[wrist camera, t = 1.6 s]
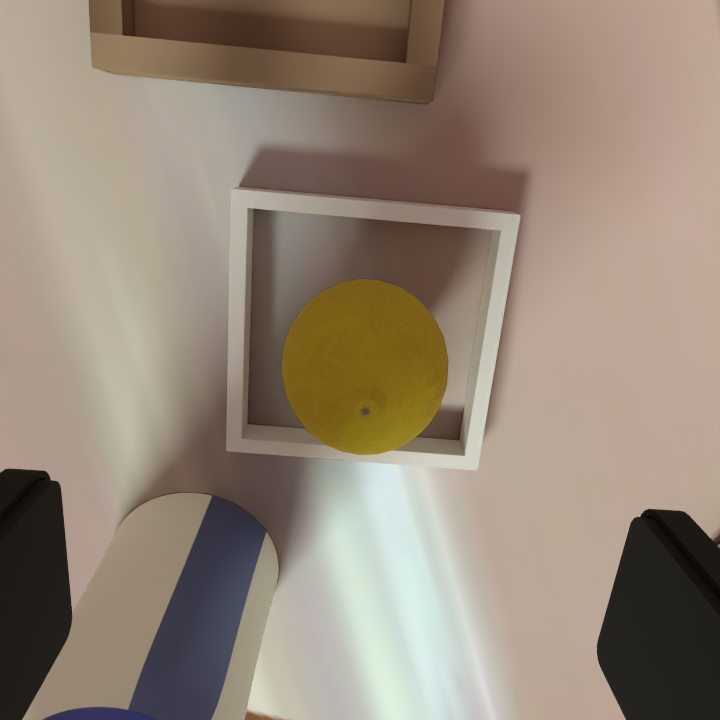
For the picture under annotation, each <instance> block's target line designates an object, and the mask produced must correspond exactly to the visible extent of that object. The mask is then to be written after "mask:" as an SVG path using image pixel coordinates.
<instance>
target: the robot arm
mask: <svg viewBox="0 0 720 720" xmlns="http://www.w3.org/2000/svg"><path fill="white" fill-rule="evenodd" d="M71 625H72V607H71V595H70V584H69V573H68V562H67V551H66V539H65V528H64V517H63V506H62V495H61V487H60V484H59V482H57V481H51V480H50V477H49V475H48V473H47V472H45V471H38V470H23V469H5V470H4V471H2V472H1V473H0V720H22V719H23V718H24V716H25V714H26V712H27V711H28V709H29V707H30V705H31V703H32V702H33V700H34V698H35V696H36V694H37V693H38V691H39V689H40V687H41V685H42V684H43V682H44V680H45V678H46V677H47V675H48V673H49V671H50V669H51V668H52V666H53V664H54V662H55V660H56V659H57V657H58V655H59V653H60V652H61V650H62V648H63V646H64V644H65V643H66V641H67V638H68V636H69V633H70V629H71ZM597 656H598V661H599V664H600V667H601V669H602V671H603V673H604V675H605V678H606V680H607V682H608V684H609V686H610V688H611V690H612V692H613V694H614V696H615V698H616V700H617V702H618V704H619V706H620V708H621V710H622V712H623V714H624V716H625V718H626V720H720V544H718V545H716V544H715V543H714V542H713V541H712V540H711V539H710V538H709V537H708V535H707V534H706V533H705V532H704V531H703V530H702V529H701V528H700V527H699V526H698V525H697V524H696V523H695V521H694V520H693V519H692V518H691V517H690V516H689V515H688V514H686V513H685V512H682V511H673V510H657V509H648V510H645V511H644V512H643V513H642V514H641V517H636V518H634V519H633V520H632V522H631V525H630V528H629V531H628V535H627V538H626V542H625V546H624V549H623V553H622V556H621V560H620V564H619V567H618V571H617V574H616V578H615V581H614V585H613V589H612V592H611V596H610V599H609V603H608V607H607V610H606V614H605V617H604V621H603V624H602V628H601V632H600V635H599V639H598V643H597Z"/></svg>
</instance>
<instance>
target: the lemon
mask: <svg viewBox="0 0 720 720" xmlns="http://www.w3.org/2000/svg"><path fill="white" fill-rule="evenodd" d="M282 375H283V382H284V388H285V393H286V396H287V398H288V400H289V403H290V405H291V407H292V409H293V411H294V414H295V415H296V417H297V418H298V419H299V421H300V422H301V423H302V424H303V426H304V427H305V428H306V429H307V431H308V432H309V433H311V434H312V435H313V436H315V437H316V438H317V439H318V440H320V441H321V442H322V443H324V444H325V445H327V446H330V447H332V448H334V449H337V450H339V451H341V452H346V453H351V454H357V455H374V454H381V453H385V452H388V451H392V450H395V449H397V448H399V447H401V446H403V445H405V444H407V443H408V442H410V441H412V440H413V439H414V438H415V437H416V436H417V435H418V434H420V433H421V432H422V431H423V430H424V429H425V428H426V427H427V426H428V425H429V423H430V422H431V420H432V419H433V417H434V416H435V414H436V413H437V411H438V409H439V407H440V404H441V401H442V398H443V396H444V393H445V390H446V386H447V376H448V355H447V350H446V345H445V340H444V336H443V334H442V332H441V330H440V328H439V326H438V324H437V322H436V320H435V318H434V316H433V315H432V314H431V312H430V311H429V310H428V309H427V308H426V307H425V306H424V305H423V303H422V302H421V301H420V300H419V299H418V298H417V297H415V296H414V295H412V294H410V293H409V292H407V291H406V290H404V289H403V288H401V287H399V286H396V285H393V284H390V283H387V282H384V281H381V280H371V279H356V280H350V281H345V282H341V283H338V284H336V285H334V286H332V287H330V288H327V289H325V290H323V291H321V292H320V293H319V294H318V295H316V296H315V297H314V298H313V299H311V300H310V301H309V302H308V303H307V304H306V305H305V306H304V307H303V309H302V310H301V311H300V313H299V314H298V315H297V317H296V318H295V319H294V321H293V322H292V325H291V327H290V330H289V332H288V335H287V337H286V340H285V343H284V349H283V358H282Z"/></svg>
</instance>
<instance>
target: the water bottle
mask: <svg viewBox="0 0 720 720" xmlns="http://www.w3.org/2000/svg"><path fill="white" fill-rule="evenodd" d="M278 572H279V565H278V557H277V553H276V550H275V547H274V544H273V542H272V540H271V538H270V536H269V535H268V533H267V532H266V530H265V529H264V528H263V526H262V525H261V524H260V523H259V522H258V521H257V520H256V519H255V518H254V517H253V516H252V515H250V514H249V513H248V512H246V511H245V510H244V509H242V508H240V507H239V506H237V505H235V504H233V503H231V502H229V501H226V500H224V499H221V498H218V497H215V496H211V495H206V494H200V493H175V494H169V495H164V496H161V497H157V498H155V499H152V500H150V501H148V502H146V503H144V504H142V505H140V506H139V507H137V508H136V509H135V510H133V511H132V512H131V513H130V514H129V515H128V516H127V517H126V518H125V519H124V520H123V522H122V523H121V524H120V526H119V527H118V529H117V531H116V533H115V535H114V537H113V539H112V541H111V542H110V544H109V546H108V548H107V550H106V552H105V554H104V556H103V558H102V560H101V562H100V564H99V566H98V568H97V570H96V571H95V573H94V575H93V577H92V579H91V581H90V583H89V584H88V586H87V588H86V590H85V592H84V594H83V595H82V597H81V599H80V601H79V603H78V604H77V606H76V608H75V610H74V611H73V613H72V625H71V629H70V633H69V636H68V638H67V641H66V643H65V644H64V646H63V648H62V650H61V652H60V653H59V655H58V657H57V659H56V660H55V662H54V664H53V666H52V668H51V669H50V671H49V673H48V675H47V677H46V678H45V680H44V682H43V684H42V685H41V687H40V689H39V691H38V693H37V694H36V696H35V698H34V700H33V702H32V703H31V705H30V707H29V709H28V711H27V712H26V714H25V716H24V718H23V719H22V720H244V719H245V714H246V710H247V705H248V700H249V695H250V690H251V686H252V681H253V676H254V671H255V667H256V663H257V658H258V654H259V650H260V646H261V642H262V638H263V634H264V630H265V626H266V622H267V618H268V614H269V610H270V607H271V603H272V599H273V595H274V592H275V588H276V584H277V580H278Z"/></svg>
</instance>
